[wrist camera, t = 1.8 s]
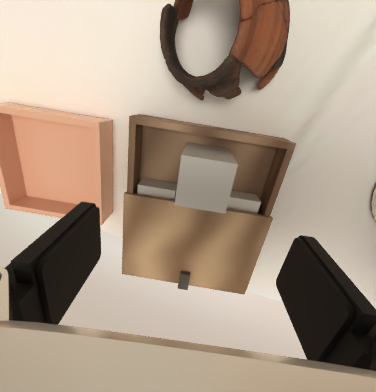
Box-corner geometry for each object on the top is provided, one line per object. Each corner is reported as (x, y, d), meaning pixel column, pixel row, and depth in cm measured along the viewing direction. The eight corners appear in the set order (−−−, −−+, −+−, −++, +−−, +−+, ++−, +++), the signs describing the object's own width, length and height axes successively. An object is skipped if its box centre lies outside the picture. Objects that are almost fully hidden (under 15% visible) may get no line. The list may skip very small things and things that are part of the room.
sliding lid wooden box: (285, 138, 21) (303, 146, 18) (239, 274, 29) (244, 299, 26) (137, 113, 22) (123, 116, 18) (130, 256, 29) (120, 278, 26)
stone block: (229, 148, 22) (238, 164, 16) (220, 188, 24) (225, 213, 18) (187, 141, 22) (181, 154, 16) (181, 181, 24) (174, 205, 18)
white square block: (256, 194, 24) (261, 202, 22) (247, 224, 25) (250, 233, 23) (226, 189, 24) (228, 196, 22) (218, 219, 25) (220, 228, 23)
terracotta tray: (112, 120, 22) (99, 122, 19) (112, 211, 27) (101, 224, 24) (8, 102, 22) (-21, 102, 19) (26, 197, 27) (5, 208, 24)
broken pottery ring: (252, 120, 22) (215, 126, 15) (189, 71, 24) (134, 59, 18) (363, -35, 14) (378, -145, 8) (256, -85, 16) (202, -203, 10)
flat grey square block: (177, 183, 24) (175, 190, 22) (174, 210, 25) (171, 219, 23) (143, 177, 24) (137, 184, 22) (141, 204, 25) (136, 213, 23)
